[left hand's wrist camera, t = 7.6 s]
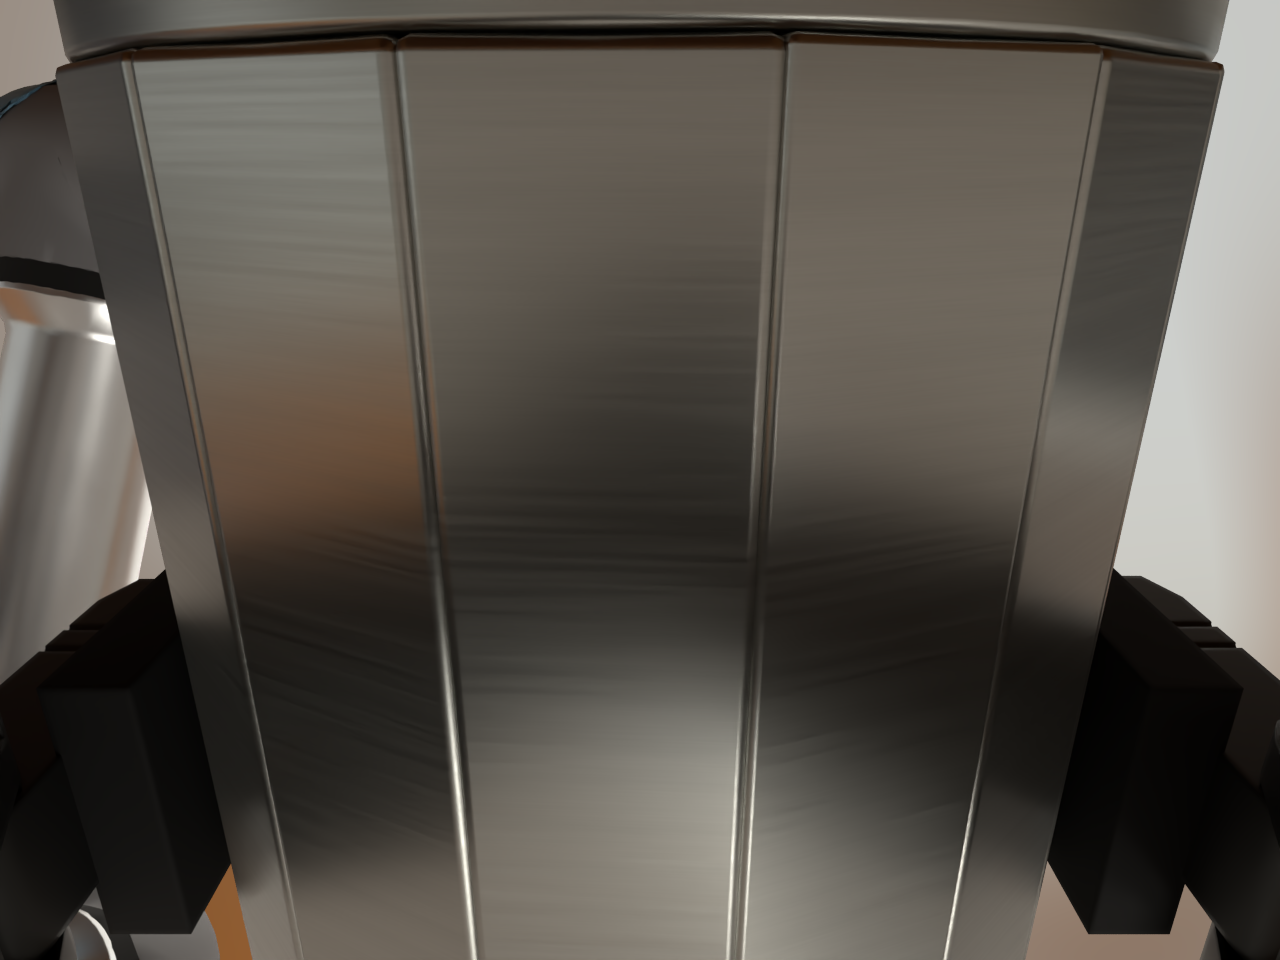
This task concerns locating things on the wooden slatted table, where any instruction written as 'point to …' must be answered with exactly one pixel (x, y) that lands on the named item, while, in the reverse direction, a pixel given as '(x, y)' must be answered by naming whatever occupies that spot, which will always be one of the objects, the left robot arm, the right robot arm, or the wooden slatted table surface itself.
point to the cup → (639, 445)
